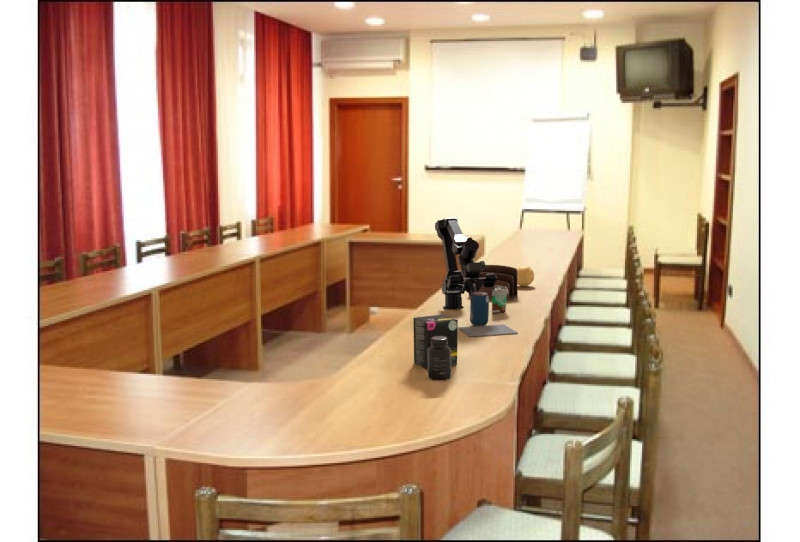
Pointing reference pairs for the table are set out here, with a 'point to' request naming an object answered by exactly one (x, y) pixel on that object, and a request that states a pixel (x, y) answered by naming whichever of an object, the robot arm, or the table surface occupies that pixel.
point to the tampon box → (434, 327)
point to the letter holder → (501, 279)
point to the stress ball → (524, 276)
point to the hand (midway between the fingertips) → (476, 299)
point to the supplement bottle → (439, 359)
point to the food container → (499, 299)
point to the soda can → (479, 308)
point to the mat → (487, 330)
